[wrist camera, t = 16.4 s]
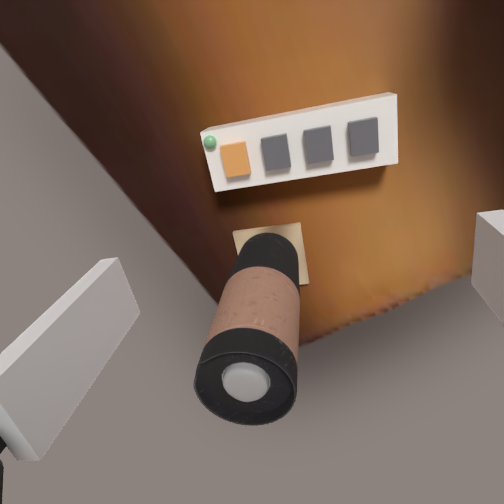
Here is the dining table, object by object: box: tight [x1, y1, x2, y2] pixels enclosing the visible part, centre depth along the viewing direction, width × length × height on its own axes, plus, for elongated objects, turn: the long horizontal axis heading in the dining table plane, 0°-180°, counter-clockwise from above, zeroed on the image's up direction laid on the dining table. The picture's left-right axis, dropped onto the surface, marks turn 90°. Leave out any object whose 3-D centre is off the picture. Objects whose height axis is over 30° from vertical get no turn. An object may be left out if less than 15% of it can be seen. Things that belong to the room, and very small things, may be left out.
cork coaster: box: [233, 222, 309, 285], centre depth 43 cm, size 8×8×1 cm
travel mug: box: [194, 233, 300, 425], centre depth 34 cm, size 8×8×20 cm
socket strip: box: [200, 92, 398, 192], centre depth 35 cm, size 18×6×4 cm, turn 101°
